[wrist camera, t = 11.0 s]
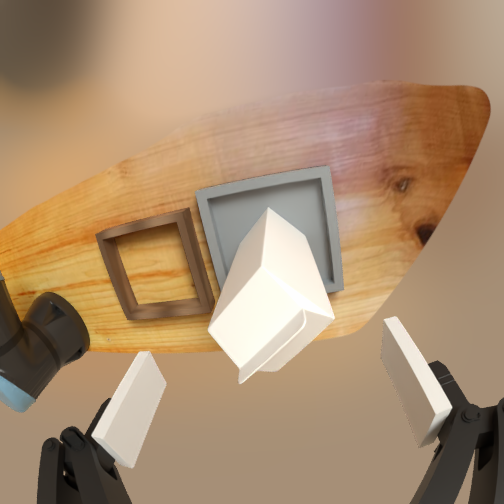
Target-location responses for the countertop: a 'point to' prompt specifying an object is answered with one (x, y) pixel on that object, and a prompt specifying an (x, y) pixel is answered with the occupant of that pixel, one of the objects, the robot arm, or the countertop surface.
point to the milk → (270, 299)
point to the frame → (194, 260)
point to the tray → (285, 205)
